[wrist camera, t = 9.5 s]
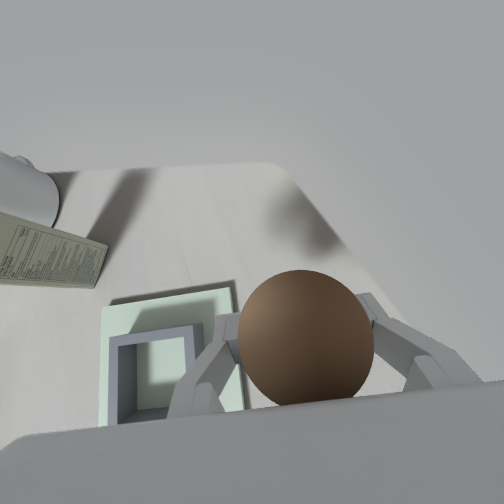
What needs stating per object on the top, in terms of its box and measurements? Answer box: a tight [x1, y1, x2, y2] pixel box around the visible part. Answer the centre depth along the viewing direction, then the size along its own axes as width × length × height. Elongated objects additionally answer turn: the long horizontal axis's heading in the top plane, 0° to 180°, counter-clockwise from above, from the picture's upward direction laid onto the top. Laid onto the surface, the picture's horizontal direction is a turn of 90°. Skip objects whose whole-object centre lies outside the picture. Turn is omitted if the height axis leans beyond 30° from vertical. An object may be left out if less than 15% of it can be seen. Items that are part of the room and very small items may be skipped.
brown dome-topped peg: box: [237, 270, 374, 406], centre depth 12 cm, size 4×4×9 cm
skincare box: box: [0, 212, 108, 289], centre depth 23 cm, size 6×4×12 cm
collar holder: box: [98, 287, 245, 427], centre depth 23 cm, size 16×16×4 cm
